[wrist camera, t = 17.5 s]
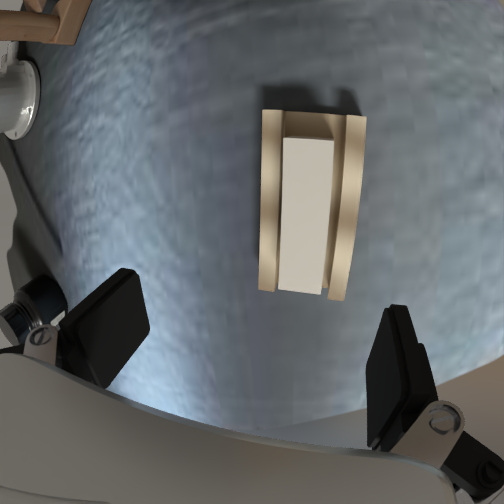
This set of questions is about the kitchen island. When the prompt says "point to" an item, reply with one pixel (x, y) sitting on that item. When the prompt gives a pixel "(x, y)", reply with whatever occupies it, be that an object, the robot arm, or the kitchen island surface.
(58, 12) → the stepped wooden upright
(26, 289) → the ink bottle
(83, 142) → the kitchen island surface
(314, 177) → the strip
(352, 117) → the rack
